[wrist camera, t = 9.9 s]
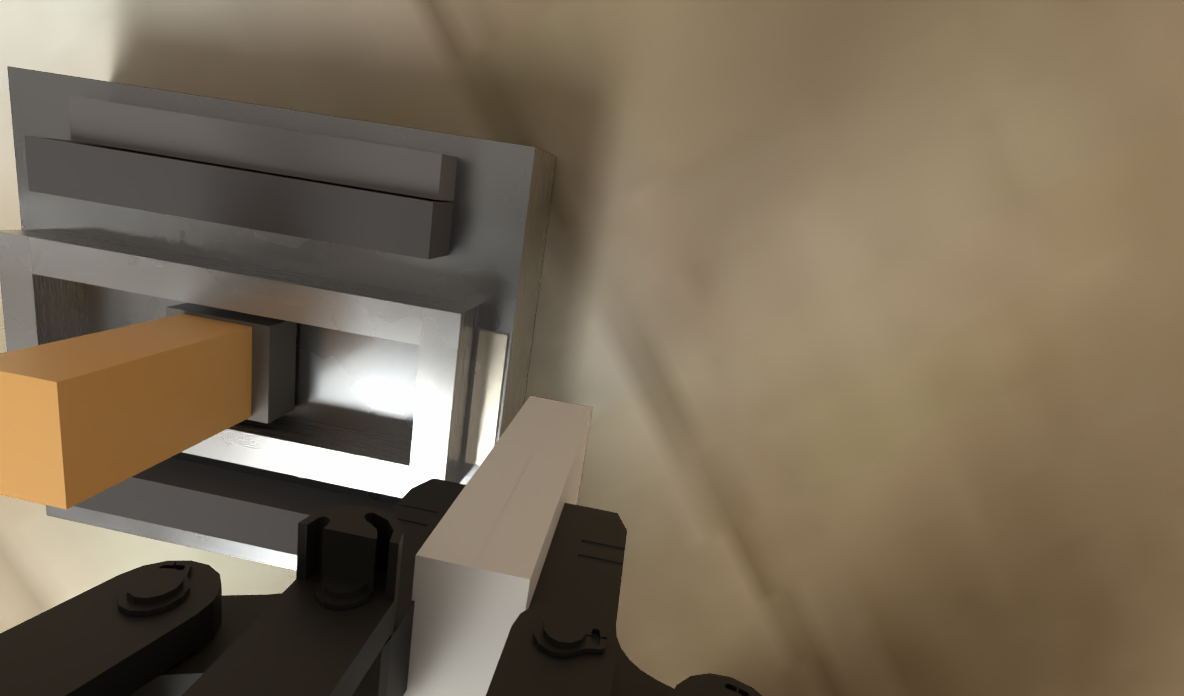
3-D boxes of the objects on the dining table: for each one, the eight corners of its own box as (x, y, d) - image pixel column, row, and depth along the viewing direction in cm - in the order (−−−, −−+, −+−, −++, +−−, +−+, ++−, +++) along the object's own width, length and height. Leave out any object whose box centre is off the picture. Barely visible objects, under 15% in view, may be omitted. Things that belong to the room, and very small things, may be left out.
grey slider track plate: (98, 481, 19) (54, 502, 18) (74, 97, 16) (20, 87, 15) (421, 550, 18) (401, 578, 17) (457, 157, 15) (436, 152, 14)
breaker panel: (126, 476, 23) (-3, 539, 18) (107, 87, 19) (-58, 52, 15) (503, 556, 21) (461, 645, 17) (556, 156, 18) (520, 140, 14)
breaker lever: (200, 391, 18) (-49, 488, 12) (199, 300, 17) (-67, 352, 11) (294, 409, 17) (90, 519, 11) (296, 318, 17) (80, 382, 11)
